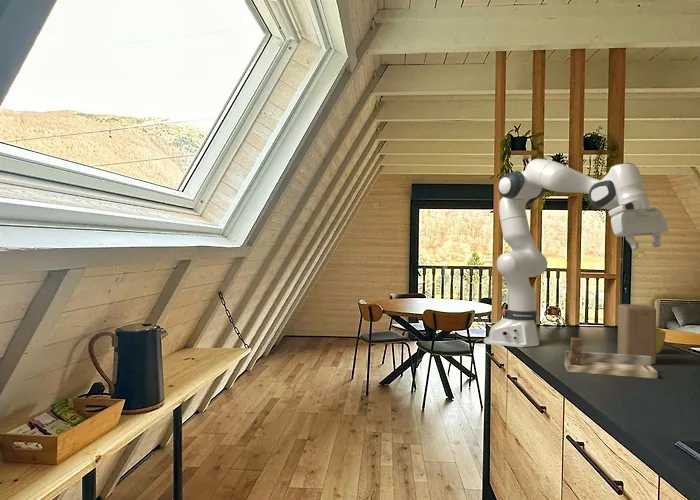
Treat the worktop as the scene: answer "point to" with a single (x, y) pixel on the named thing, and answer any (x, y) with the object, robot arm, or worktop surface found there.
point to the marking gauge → (576, 352)
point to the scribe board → (613, 365)
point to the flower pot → (659, 339)
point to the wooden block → (637, 330)
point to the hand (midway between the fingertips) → (646, 247)
